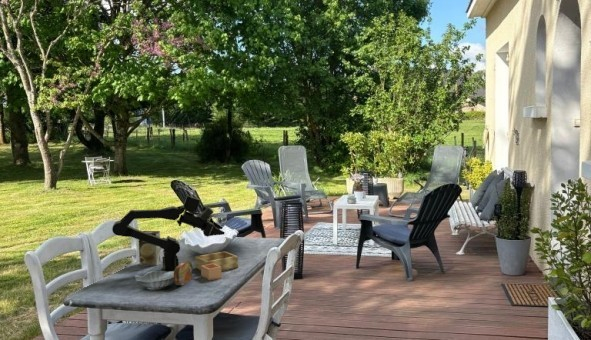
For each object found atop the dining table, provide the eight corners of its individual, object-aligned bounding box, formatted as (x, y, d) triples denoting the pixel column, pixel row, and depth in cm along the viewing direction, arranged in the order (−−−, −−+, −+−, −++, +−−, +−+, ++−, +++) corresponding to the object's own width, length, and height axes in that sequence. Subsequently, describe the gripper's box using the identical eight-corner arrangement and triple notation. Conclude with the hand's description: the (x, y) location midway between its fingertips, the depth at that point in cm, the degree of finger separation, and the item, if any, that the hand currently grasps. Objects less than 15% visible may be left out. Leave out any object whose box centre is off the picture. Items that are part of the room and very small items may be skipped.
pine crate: (207, 273, 252) (206, 261, 251) (195, 268, 262) (194, 256, 262) (238, 267, 261) (237, 256, 260) (225, 262, 271) (225, 251, 271)
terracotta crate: (209, 280, 241) (208, 269, 240) (201, 276, 247) (201, 265, 247) (221, 278, 244) (221, 266, 244) (213, 274, 251) (213, 263, 250)
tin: (180, 288, 231) (179, 268, 230) (173, 287, 232) (172, 268, 231) (193, 277, 246) (192, 259, 245) (187, 277, 247) (186, 259, 246)
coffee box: (139, 265, 270) (137, 233, 268) (143, 262, 276) (142, 230, 275) (157, 265, 269) (155, 233, 267) (161, 262, 275) (160, 230, 274)
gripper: (200, 209, 253) (232, 220, 257) (198, 200, 271) (227, 210, 275) (191, 231, 254) (222, 242, 258) (189, 220, 272) (219, 231, 276)
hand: (223, 230), depth 267 cm, fingers open, 9 cm apart
